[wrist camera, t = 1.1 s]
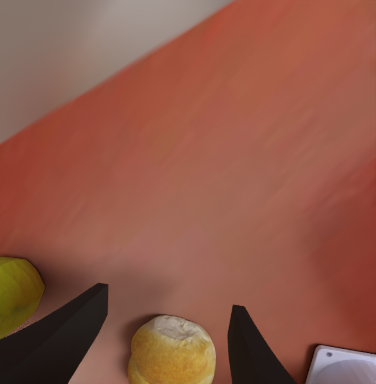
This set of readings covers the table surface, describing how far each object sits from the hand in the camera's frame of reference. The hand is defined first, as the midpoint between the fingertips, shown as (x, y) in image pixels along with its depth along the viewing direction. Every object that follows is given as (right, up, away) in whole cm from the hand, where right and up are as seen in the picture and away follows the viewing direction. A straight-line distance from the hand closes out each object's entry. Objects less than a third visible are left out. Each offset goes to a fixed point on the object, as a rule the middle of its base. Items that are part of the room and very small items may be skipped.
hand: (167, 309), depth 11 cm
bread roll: (0, -9, +9) cm, 13 cm away
